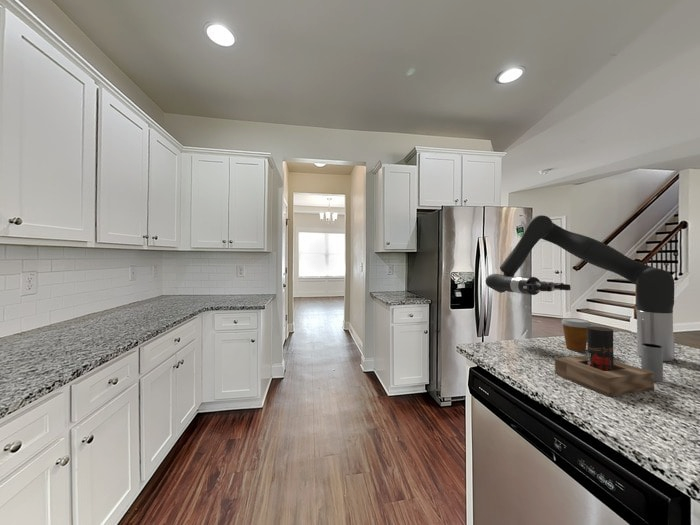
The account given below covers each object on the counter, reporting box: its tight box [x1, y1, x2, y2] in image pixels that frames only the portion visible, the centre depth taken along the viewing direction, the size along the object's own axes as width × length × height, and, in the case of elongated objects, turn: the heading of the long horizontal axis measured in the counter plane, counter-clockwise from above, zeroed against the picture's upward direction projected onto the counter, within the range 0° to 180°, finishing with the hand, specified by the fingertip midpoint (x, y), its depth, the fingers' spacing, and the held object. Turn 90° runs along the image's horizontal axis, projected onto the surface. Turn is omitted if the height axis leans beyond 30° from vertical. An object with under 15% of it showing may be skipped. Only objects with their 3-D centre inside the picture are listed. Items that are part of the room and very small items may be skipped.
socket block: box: [554, 354, 655, 398], centre depth 87 cm, size 16×16×5 cm
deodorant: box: [586, 325, 615, 371], centre depth 87 cm, size 6×6×15 cm
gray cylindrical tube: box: [640, 343, 664, 383], centre depth 88 cm, size 4×4×10 cm
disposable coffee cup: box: [561, 317, 591, 352], centre depth 118 cm, size 10×10×12 cm
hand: (560, 288), depth 107 cm, fingers open, 8 cm apart
